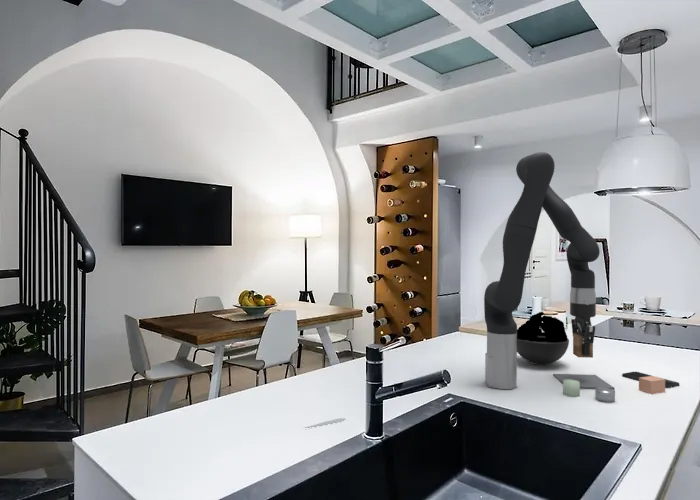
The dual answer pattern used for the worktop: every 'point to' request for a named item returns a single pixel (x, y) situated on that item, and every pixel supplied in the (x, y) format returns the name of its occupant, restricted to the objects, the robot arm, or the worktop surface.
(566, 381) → the sage cylinder
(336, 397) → the worktop surface
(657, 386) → the terracotta brick
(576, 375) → the charcoal mat
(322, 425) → the butter knife
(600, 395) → the grey metal puck
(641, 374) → the phone
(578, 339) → the walnut block
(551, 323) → the coal bowl
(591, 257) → the robot arm
